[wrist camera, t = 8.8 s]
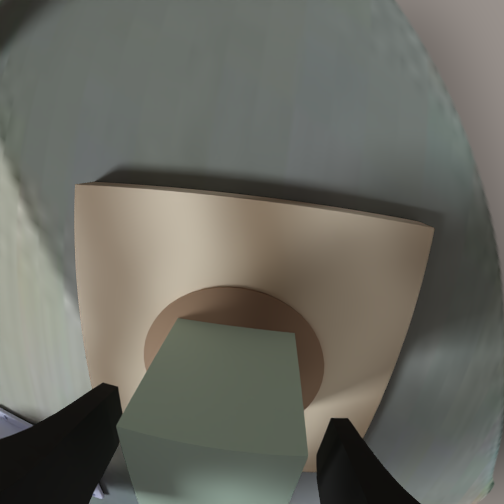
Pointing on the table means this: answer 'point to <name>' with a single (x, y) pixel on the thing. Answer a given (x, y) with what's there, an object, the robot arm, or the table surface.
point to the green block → (217, 418)
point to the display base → (248, 286)
